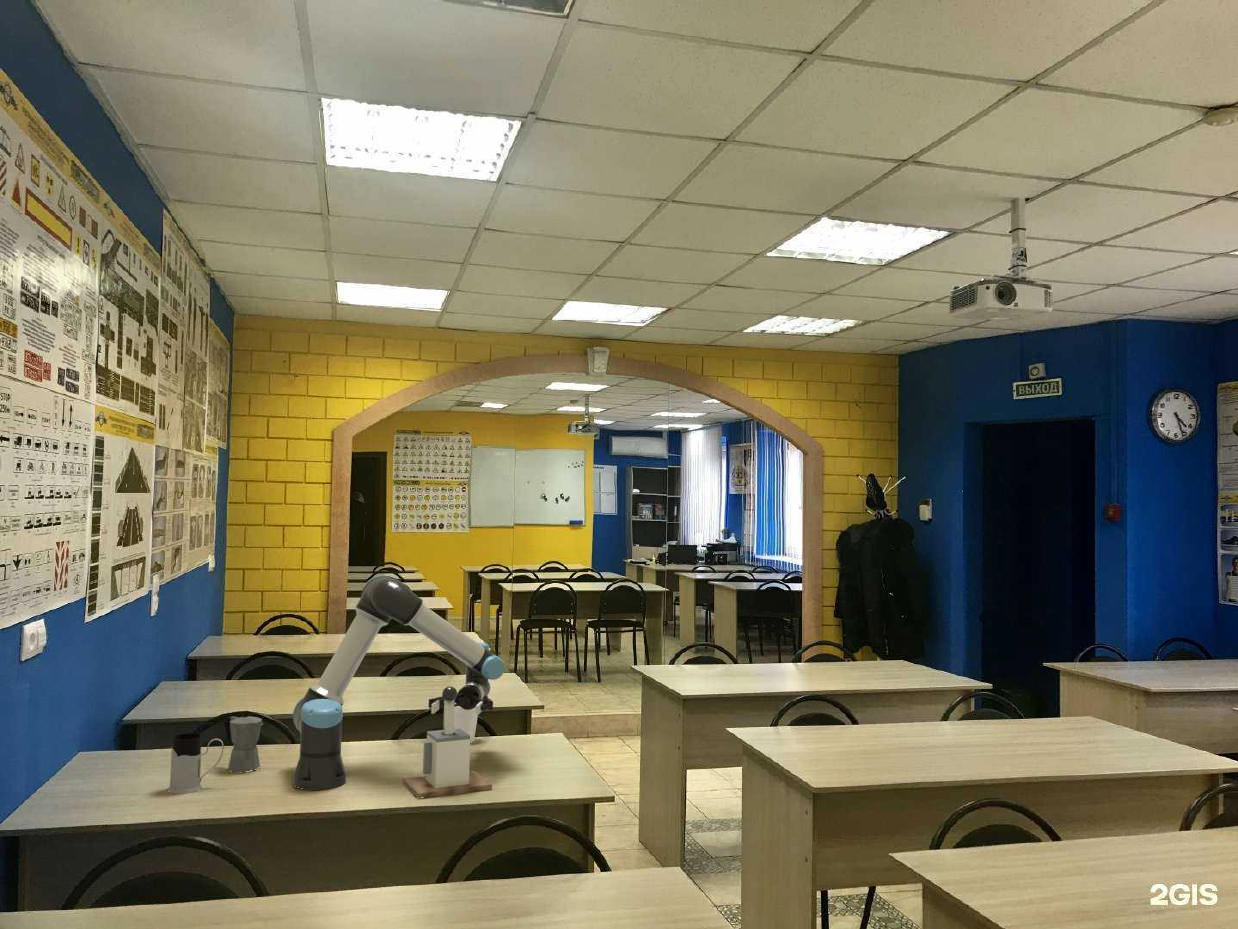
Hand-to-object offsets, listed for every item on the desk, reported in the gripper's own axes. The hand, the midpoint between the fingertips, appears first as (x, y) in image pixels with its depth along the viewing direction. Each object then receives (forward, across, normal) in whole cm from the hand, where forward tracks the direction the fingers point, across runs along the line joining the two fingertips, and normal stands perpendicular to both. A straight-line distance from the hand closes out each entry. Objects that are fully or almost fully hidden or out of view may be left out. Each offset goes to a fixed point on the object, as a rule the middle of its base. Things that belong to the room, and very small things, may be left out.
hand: (454, 709), depth 278 cm
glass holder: (+16, +71, -21) cm, 76 cm away
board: (+6, 0, -21) cm, 22 cm away
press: (+6, +1, -20) cm, 21 cm away
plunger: (+6, 0, -18) cm, 19 cm away
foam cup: (-48, +7, -22) cm, 53 cm away
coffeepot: (-4, +68, -21) cm, 71 cm away
